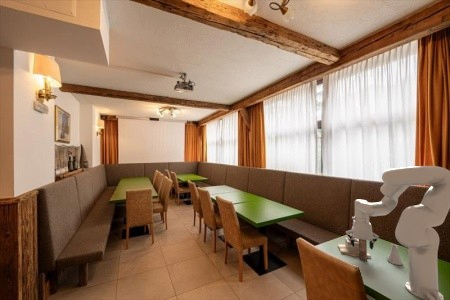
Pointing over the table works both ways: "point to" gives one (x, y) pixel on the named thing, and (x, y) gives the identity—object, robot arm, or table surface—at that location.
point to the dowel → (362, 249)
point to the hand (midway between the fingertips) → (361, 247)
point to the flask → (394, 256)
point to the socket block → (351, 248)
